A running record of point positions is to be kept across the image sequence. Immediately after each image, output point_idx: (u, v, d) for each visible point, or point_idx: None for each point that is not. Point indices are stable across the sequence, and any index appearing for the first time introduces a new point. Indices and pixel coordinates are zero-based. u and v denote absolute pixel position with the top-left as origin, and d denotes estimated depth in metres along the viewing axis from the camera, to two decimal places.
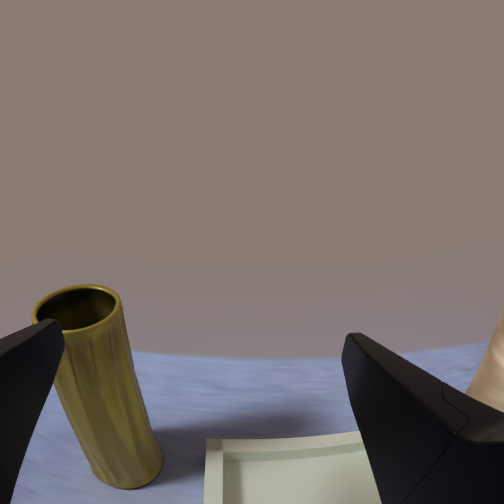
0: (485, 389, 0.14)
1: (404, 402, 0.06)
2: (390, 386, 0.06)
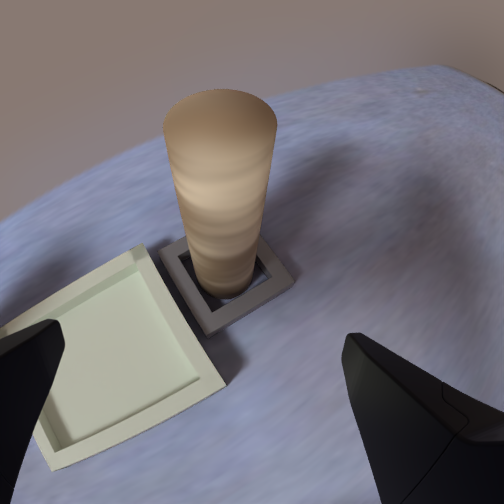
0: (186, 220, 0.15)
1: (404, 402, 0.06)
2: (390, 386, 0.06)
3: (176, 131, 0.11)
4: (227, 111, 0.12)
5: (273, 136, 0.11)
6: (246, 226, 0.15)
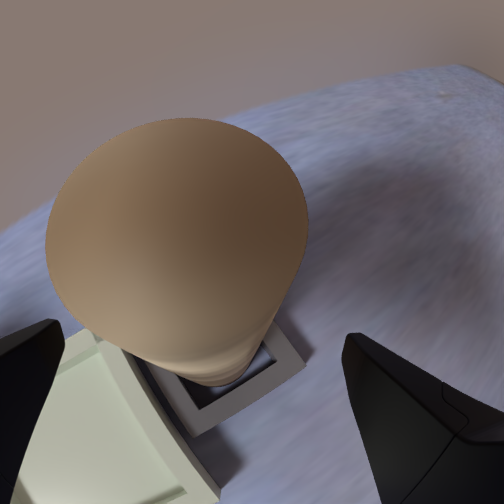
0: None
1: (404, 402, 0.06)
2: (390, 386, 0.06)
3: (69, 246, 0.04)
4: (187, 181, 0.05)
5: (300, 259, 0.05)
6: (239, 364, 0.09)
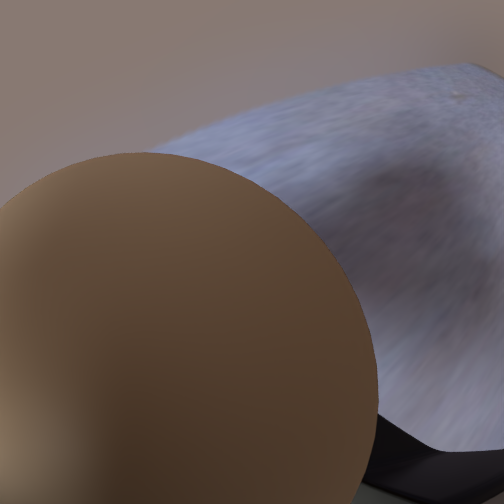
0: None
1: None
2: None
3: None
4: (127, 311, 0.02)
5: (357, 479, 0.02)
6: None
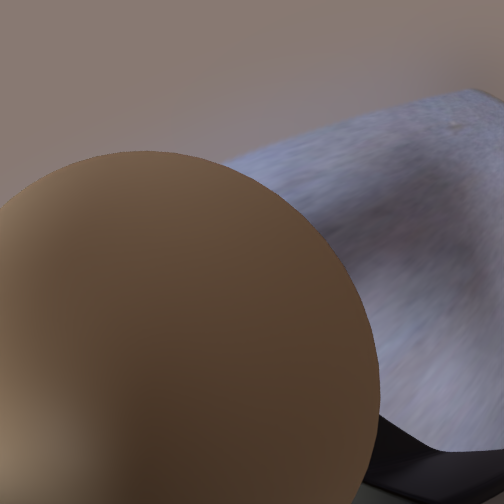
0: None
1: None
2: None
3: None
4: (129, 309, 0.02)
5: (359, 476, 0.02)
6: None
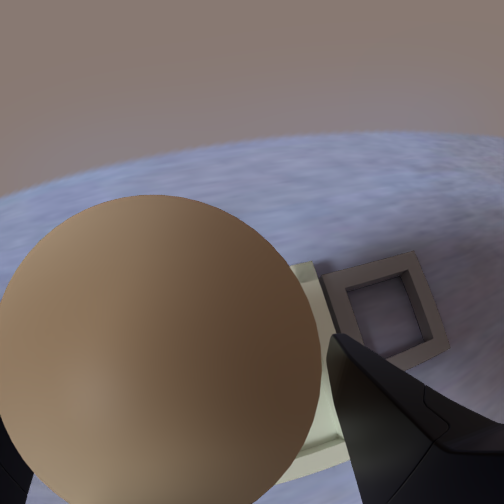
0: None
1: (384, 405, 0.06)
2: (371, 388, 0.06)
3: (17, 389, 0.03)
4: (152, 308, 0.04)
5: (308, 427, 0.03)
6: None
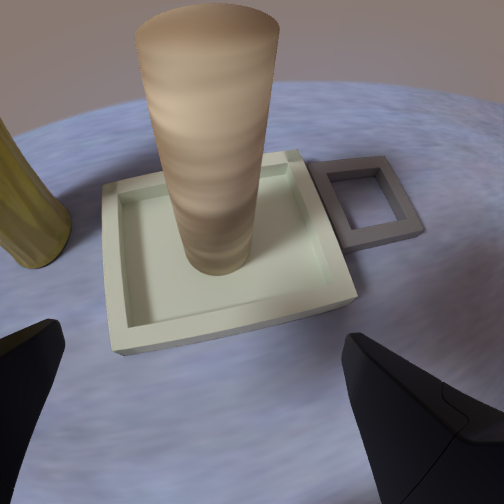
0: (165, 161, 0.12)
1: (404, 402, 0.06)
2: (390, 386, 0.06)
3: (151, 36, 0.07)
4: (216, 18, 0.08)
5: (275, 37, 0.08)
6: (240, 167, 0.11)
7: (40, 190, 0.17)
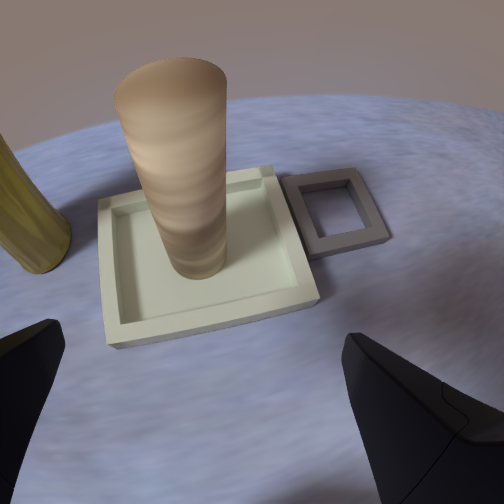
0: (145, 190, 0.14)
1: (404, 402, 0.06)
2: (390, 386, 0.06)
3: (126, 97, 0.10)
4: (178, 76, 0.11)
5: (220, 95, 0.10)
6: (204, 195, 0.14)
7: (43, 206, 0.20)
